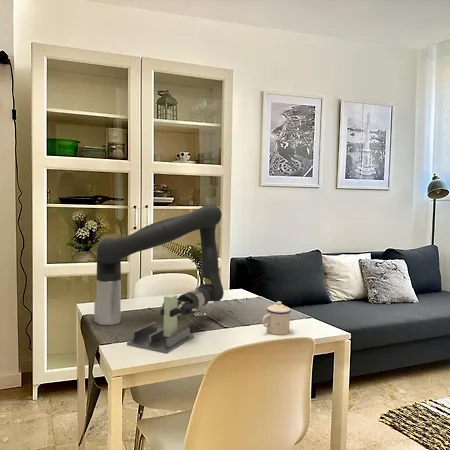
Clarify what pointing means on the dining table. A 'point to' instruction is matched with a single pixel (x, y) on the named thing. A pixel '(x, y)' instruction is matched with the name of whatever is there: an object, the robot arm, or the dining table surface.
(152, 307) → the dining table surface
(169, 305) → the pale green rectangular block
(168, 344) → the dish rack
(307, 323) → the dining table surface
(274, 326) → the teacup with lid
